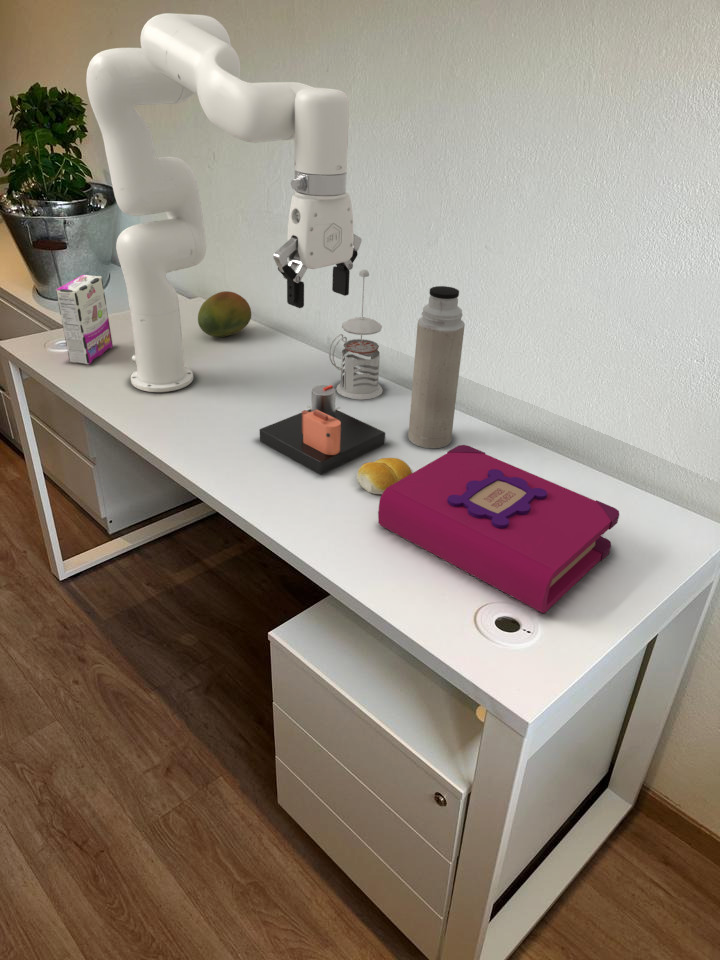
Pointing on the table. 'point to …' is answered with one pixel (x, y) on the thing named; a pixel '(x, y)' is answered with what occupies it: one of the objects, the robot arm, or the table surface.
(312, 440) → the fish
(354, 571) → the table surface
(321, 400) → the knob
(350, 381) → the french press
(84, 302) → the candy bar box
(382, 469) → the bread roll
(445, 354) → the thermos bottle
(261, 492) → the table surface
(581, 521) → the book
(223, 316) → the fruit
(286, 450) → the hot plate
